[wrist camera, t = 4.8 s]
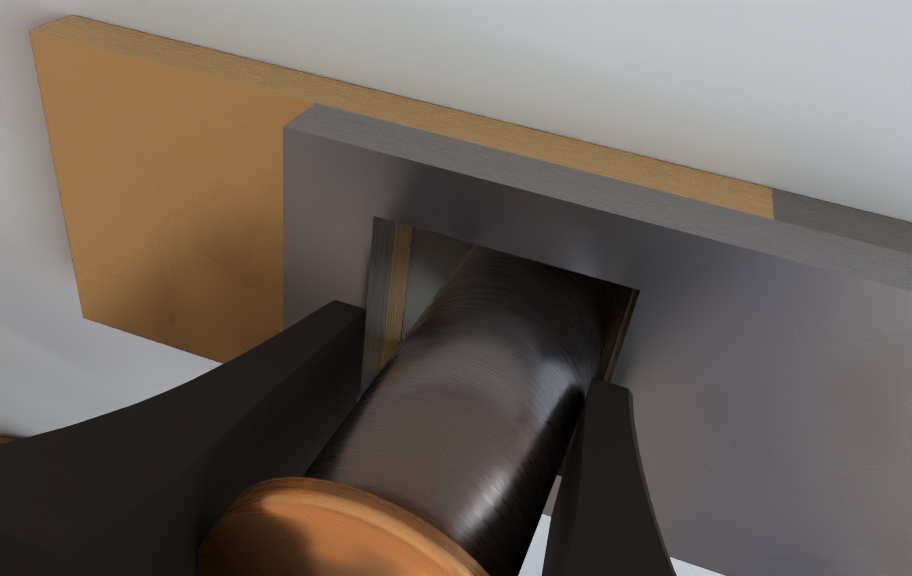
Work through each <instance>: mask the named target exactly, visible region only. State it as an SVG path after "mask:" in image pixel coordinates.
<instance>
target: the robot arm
mask: <svg viewBox="0 0 912 576" xmlns="http://www.w3.org/2000/svg"><path fill="white" fill-rule="evenodd" d="M366 311H367V309H364V308H361V307H358V306H354V305H351V304H348V303H344V302H341V301H338V300H333V301H332V302H330V303H328V304H326V305H325V306H323V307H321V308H319V309H318V310H316V311H314V312H313V313H311V314H309V315H308V316H306V317H304V318H303V319H301V320H300V321H298V322H296V323H295V324H293V325H291V326H290V327H288V328H286V329H285V330H283V331H281V332H280V333H278V334H276V335H275V336H273V337H271V338H269V339H268V340H266V341H264V342H262V343H261V344H259V345H257V346H255V347H254V348H252V349H250V350H248V351H247V352H245V353H243V354H241V355H240V356H238V357H236V358H234V359H232V360H230V361H228V362H226V363H224V364H223V365H221V366H219V367H217V368H215V369H213V370H211V371H209V372H207V373H205V374H203V375H201V376H199V377H197V378H195V379H193V380H191V381H189V382H187V383H184V384H182V385H180V386H178V387H175V388H173V389H171V390H169V391H166V392H164V393H161V394H159V395H156V396H154V397H151V398H149V399H146V400H144V401H141V402H139V403H136V404H134V405H131V406H128V407H125V408H122V409H119V410H116V411H113V412H110V413H107V414H104V415H101V416H98V417H95V418H92V419H89V420H86V421H83V422H80V423H77V424H74V425H71V426H67V427H64V428H60V429H57V430H53V431H50V432H46V433H42V434H39V435H35V436H31V437H26V438H22V439H18V440H14V441H10V442H6V443H2V444H0V576H199V575H198V566H197V560H198V551H199V549H200V546H201V543H202V541H203V540H204V538H205V537H206V536H207V534H208V533H209V532H210V530H211V529H212V528H213V527H214V525H215V524H216V523H217V522H218V520H219V519H220V518H221V517H222V515H223V514H224V513H225V512H226V511H227V509H228V508H229V507H230V506H231V504H232V503H233V502H234V501H235V499H236V498H237V497H238V496H239V495H240V494H241V493H242V492H243V491H245V490H246V489H247V488H249V487H251V486H253V485H255V484H257V483H259V482H262V481H266V480H270V479H274V478H285V477H302V476H303V475H304V473H305V472H306V471H307V469H308V468H309V466H310V465H311V464H312V462H313V461H314V460H315V458H316V457H317V456H318V454H319V453H320V452H321V450H322V449H323V448H324V446H325V445H326V443H327V442H328V441H329V439H330V438H331V437H332V435H333V434H334V433H335V431H336V430H337V429H338V427H339V426H340V424H341V423H342V422H343V420H344V419H345V418H346V416H347V415H348V414H349V412H350V411H351V410H352V408H353V407H354V406H355V404H356V402H357V400H358V398H359V396H360V387H361V375H362V362H363V349H364V336H365V324H366ZM542 576H677V575H676V573H675V571H674V568H673V565H672V563H671V560H670V557H669V555H668V552H667V549H666V546H665V543H664V540H663V537H662V534H661V531H660V528H659V525H658V522H657V519H656V515H655V512H654V509H653V505H652V502H651V498H650V494H649V490H648V486H647V482H646V478H645V474H644V470H643V466H642V461H641V456H640V451H639V446H638V440H637V434H636V427H635V419H634V408H633V395H632V393H631V391H630V390H629V388H626V387H622V386H619V385H616V384H613V383H609V382H606V381H603V380H599V379H596V378H593V377H592V380H591V383H590V387H589V390H588V393H587V396H586V399H585V403H584V406H583V409H582V412H581V416H580V419H579V422H578V425H577V428H576V432H575V435H574V438H573V441H572V445H571V448H570V451H569V454H568V457H567V461H566V464H565V468H564V471H563V475H562V479H561V482H560V486H559V490H558V493H557V497H556V501H555V504H554V508H553V512H552V516H551V522H550V528H549V534H548V540H547V546H546V552H545V558H544V565H543V571H542Z"/></svg>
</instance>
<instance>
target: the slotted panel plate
mask: <svg viewBox="0 0 912 576" xmlns="http://www.w3.org/2000/svg"><path fill="white" fill-rule="evenodd" d="M29 33H30V39H31V44H32V49H33V54H34V60H35V65H36V70H37V76H38V81H39V86H40V91H41V97H42V102H43V107H44V113H45V118H46V123H47V128H48V134H49V139H50V144H51V150H52V155H53V160H54V166H55V171H56V176H57V181H58V187H59V192H60V197H61V203H62V208H63V213H64V218H65V224H66V229H67V234H68V240H69V245H70V250H71V255H72V261H73V266H74V271H75V277H76V282H77V287H78V292H79V298H80V303H81V308H82V314H83V318H85V319H88V320H91V321H94V322H97V323H100V324H103V325H107V326H110V327H113V328H116V329H119V330H122V331H125V332H128V333H131V334H134V335H137V336H140V337H143V338H146V339H149V340H152V341H155V342H159V343H162V344H165V345H168V346H171V347H174V348H177V349H180V350H183V351H186V352H189V353H192V354H195V355H198V356H201V357H204V358H207V359H211V360H214V361H217V362H220V363H223V364H224V363H226V362H228V361H230V360H232V359H234V358H236V357H238V356H240V355H241V354H243V353H245V352H247V351H248V350H250V349H252V348H254V347H255V346H257V345H259V344H261V343H262V342H264V341H266V340H268V339H269V338H271V337H273V336H275V335H276V334H278V333H280V332H281V331H283V330H285V329H286V328H288V327H290V326H291V325H293V324H295V323H296V322H298V321H300V320H301V319H303V318H304V317H306V316H308V315H309V314H311V313H313V312H314V311H316V310H318V309H319V308H321V307H323V306H325V305H326V304H328V303H330V302H332V301H333V300H338V301H341V302H344V303H348V304H351V305H354V306H358V307H361V308H364V309H367V311H366V324H365V336H364V349H363V362H362V375H361V387H360V396H359V398H358V400H359V399H360V397H361V396H362V395H363V393H364V392H365V391H366V389H367V388H368V387H369V385H370V384H371V383H372V381H373V380H374V378H375V377H376V376H377V374H378V373H379V372H380V370H381V369H382V368H383V366H384V365H385V364H386V362H387V361H388V359H389V358H390V357H391V355H392V354H393V353H394V351H395V350H396V349H397V347H398V346H399V345H400V343H401V342H400V340H401V332H402V323H403V314H404V305H405V296H406V288H407V279H408V270H409V261H410V253H411V244H412V235H413V227H415V228H419V229H422V230H426V231H430V232H433V233H437V234H440V235H444V236H447V237H451V238H455V239H458V240H462V241H465V242H469V243H473V244H476V245H480V246H483V247H487V248H491V249H494V250H498V251H501V252H505V253H508V254H512V255H516V256H519V257H523V258H526V259H530V260H534V261H537V262H541V263H544V264H548V265H552V266H555V267H559V268H562V269H566V270H569V271H573V272H577V273H580V274H584V275H587V276H591V277H595V278H598V279H602V280H605V281H609V282H613V283H616V284H620V285H623V286H627V287H630V288H633V290H632V293H631V296H630V299H629V303H628V306H627V309H626V312H625V315H624V318H623V321H622V324H621V327H620V330H619V334H618V337H617V340H616V343H615V346H614V349H613V352H612V355H611V358H610V361H609V365H608V368H607V371H606V374H605V377H604V380H603V381H606V382H609V383H613V384H616V385H619V386H622V387H626V388H629V390H630V391H631V393H632V395H633V408H634V419H635V427H636V434H637V440H638V446H639V451H640V456H641V461H642V466H643V470H644V474H645V478H646V482H647V486H648V490H649V494H650V498H651V502H652V505H653V509H654V512H655V515H656V519H657V522H658V525H659V528H660V531H661V534H662V537H663V540H664V543H665V546H666V549H667V552H668V555H669V557H672V558H675V559H678V560H681V561H684V562H687V563H690V564H693V565H696V566H699V567H702V568H705V569H708V570H711V571H714V572H717V573H720V574H723V575H726V576H912V223H910V222H906V221H902V220H898V219H894V218H890V217H885V216H881V215H877V214H873V213H869V212H865V211H861V210H857V209H853V208H849V207H845V206H841V205H837V204H833V203H829V202H825V201H821V200H817V199H813V198H809V197H805V196H801V195H797V194H793V193H789V192H785V191H781V190H776V189H772V188H768V187H764V186H760V185H756V184H752V183H748V182H744V181H740V180H736V179H732V178H728V177H724V176H720V175H716V174H712V173H708V172H704V171H700V170H696V169H692V168H688V167H684V166H680V165H676V164H672V163H668V162H663V161H659V160H655V159H651V158H647V157H643V156H639V155H635V154H631V153H627V152H623V151H619V150H615V149H611V148H607V147H603V146H599V145H595V144H591V143H587V142H583V141H579V140H575V139H571V138H567V137H563V136H559V135H554V134H550V133H546V132H542V131H538V130H534V129H530V128H526V127H522V126H518V125H514V124H510V123H506V122H502V121H498V120H494V119H490V118H486V117H482V116H478V115H474V114H470V113H466V112H462V111H458V110H454V109H450V108H445V107H441V106H437V105H433V104H429V103H425V102H421V101H417V100H413V99H409V98H405V97H401V96H397V95H393V94H389V93H385V92H381V91H377V90H373V89H369V88H365V87H361V86H357V85H353V84H349V83H345V82H341V81H336V80H332V79H328V78H324V77H320V76H316V75H312V74H308V73H304V72H300V71H296V70H292V69H288V68H284V67H280V66H276V65H272V64H268V63H264V62H260V61H256V60H252V59H248V58H244V57H240V56H236V55H232V54H227V53H223V52H219V51H215V50H211V49H207V48H203V47H199V46H195V45H191V44H187V43H183V42H179V41H175V40H171V39H167V38H163V37H159V36H155V35H151V34H147V33H143V32H139V31H135V30H131V29H127V28H123V27H119V26H114V25H110V24H106V23H102V22H98V21H94V20H90V19H86V18H82V17H78V16H74V15H72V16H69V17H66V18H63V19H60V20H57V21H54V22H51V23H48V24H45V25H42V26H39V27H36V28H33V29H30V30H29ZM358 400H357V401H358ZM356 403H357V402H356ZM580 416H581V414H580ZM579 419H580V417H579ZM578 422H579V420H578ZM578 422H577V425H578ZM577 425H576V427H575V430H574V432H573V435H572V438H571V440H570V443H569V445H568V448H567V451H566V453H565V456H564V458H563V461H562V463H561V466H560V469H559V471H558V474H557V476H556V479H555V482H554V484H553V487H552V489H551V492H550V494H549V497H548V500H547V502H546V505H545V507H544V510H543V513H542V514H545V515H548V516H552V512H553V508H554V504H555V501H556V497H557V493H558V490H559V486H560V482H561V479H562V475H563V471H564V468H565V464H566V461H567V457H568V454H569V451H570V448H571V445H572V441H573V438H574V435H575V432H576V428H577Z"/></svg>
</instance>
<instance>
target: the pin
mask: <svg viewBox="0 0 912 576" xmlns="http://www.w3.org/2000/svg"><path fill="white" fill-rule="evenodd" d="M616 317H617V302H616V296H615V292H614V289H613V286H612V284H611V282H609V281H605V280H602V279H598V278H595V277H591V276H587V275H584V274H580V273H577V272H573V271H569V270H566V269H562V268H559V267H555V266H552V265H548V264H544V263H541V262H537V261H534V260H530V259H526V258H523V257H519V256H516V255H512V254H508V253H505V252H501V251H498V250H494V249H491V248H487V247H483V246H480V245H476V244H474V245H473V246H472V247H471V249H470V250H469V251H468V252H467V254H466V255H465V257H464V258H463V259H462V261H461V262H460V263H459V265H458V266H457V267H456V269H455V270H454V271H453V273H452V274H451V276H450V277H449V278H448V280H447V281H446V282H445V284H444V285H443V286H442V288H441V289H440V290H439V292H438V293H437V294H436V296H435V297H434V299H433V300H432V301H431V303H430V304H429V305H428V307H427V308H426V309H425V311H424V312H423V313H422V315H421V316H420V317H419V319H418V320H417V322H416V323H415V324H414V326H413V327H412V328H411V330H410V331H409V332H408V334H407V335H406V336H405V338H404V339H403V341H402V342H401V343H400V345H399V346H398V347H397V349H396V350H395V351H394V353H393V354H392V355H391V357H390V358H389V359H388V361H387V362H386V364H385V365H384V366H383V368H382V369H381V370H380V372H379V373H378V374H377V376H376V377H375V378H374V380H373V381H372V383H371V384H370V385H369V387H368V388H367V389H366V391H365V392H364V393H363V395H362V396H361V397H360V399H359V400H358V401H357V403H356V404H355V406H354V407H353V408H352V410H351V411H350V412H349V414H348V415H347V416H346V418H345V419H344V420H343V422H342V423H341V424H340V426H339V427H338V429H337V430H336V431H335V433H334V434H333V435H332V437H331V438H330V439H329V441H328V442H327V443H326V445H325V446H324V448H323V449H322V450H321V452H320V453H319V454H318V456H317V457H316V458H315V460H314V461H313V462H312V464H311V465H310V466H309V468H308V469H307V471H306V472H305V473H304V475H303V476H302V477H285V478H274V479H270V480H266V481H262V482H259V483H257V484H255V485H253V486H251V487H249V488H247V489H246V490H245V491H243V492H242V493H241V494H240V495H239V496H238V497H237V498H236V499H235V501H234V502H233V503H232V504H231V506H230V507H229V508H228V509H227V511H226V512H225V513H224V514H223V515H222V517H221V518H220V519H219V520H218V522H217V523H216V524H215V525H214V527H213V528H212V529H211V530H210V532H209V533H208V534H207V536H206V537H205V538H204V540H203V541H202V543H201V546H200V549H199V551H198V560H197V566H198V575H199V576H518V575H519V572H520V569H521V567H522V564H523V562H524V559H525V557H526V554H527V551H528V549H529V546H530V544H531V541H532V538H533V536H534V533H535V531H536V528H537V526H538V523H539V520H540V518H541V515H542V513H543V510H544V507H545V505H546V502H547V500H548V497H549V494H550V492H551V489H552V487H553V484H554V482H555V479H556V476H557V474H558V471H559V469H560V466H561V463H562V461H563V458H564V456H565V453H566V451H567V448H568V445H569V443H570V440H571V438H572V435H573V432H574V430H575V427H576V425H577V422H578V420H579V417H580V414H581V412H582V409H583V406H584V403H585V399H586V396H587V393H588V390H589V387H590V383H591V380H592V377H593V378H595V376H596V373H597V370H598V368H599V365H600V363H601V360H602V357H603V355H604V352H605V350H606V347H607V345H608V342H609V339H610V337H611V334H612V332H613V329H614V326H615V323H616Z"/></svg>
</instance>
